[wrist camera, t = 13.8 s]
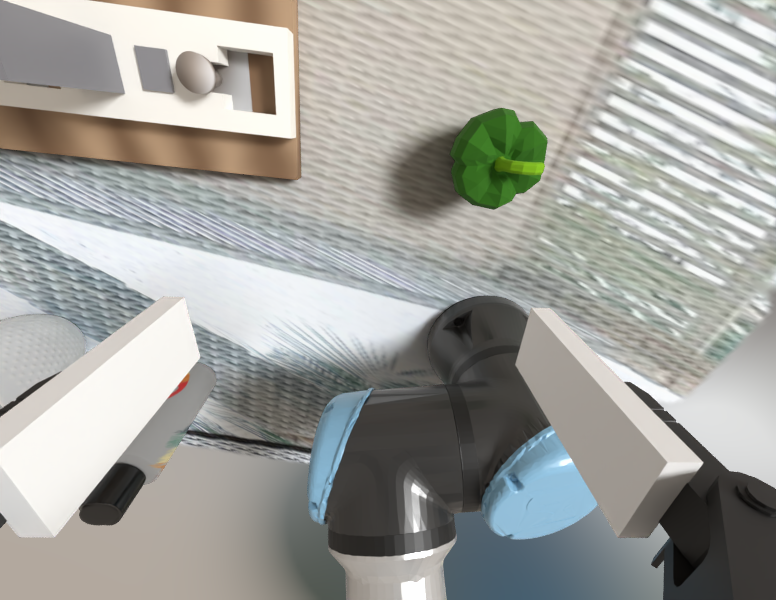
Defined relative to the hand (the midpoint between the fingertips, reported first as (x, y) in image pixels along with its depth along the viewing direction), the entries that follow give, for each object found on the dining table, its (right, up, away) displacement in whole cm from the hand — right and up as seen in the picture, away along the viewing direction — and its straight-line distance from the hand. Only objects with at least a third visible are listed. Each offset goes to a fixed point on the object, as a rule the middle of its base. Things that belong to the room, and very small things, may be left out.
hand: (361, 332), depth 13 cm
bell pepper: (+11, +17, +22) cm, 30 cm away
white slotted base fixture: (-21, +22, +16) cm, 34 cm away
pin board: (-24, +23, +18) cm, 37 cm away
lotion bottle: (-28, -10, +36) cm, 46 cm away
